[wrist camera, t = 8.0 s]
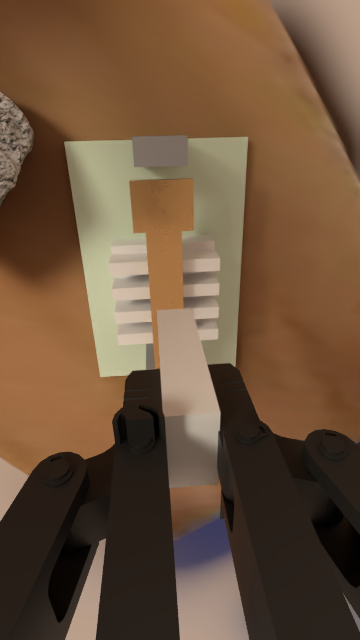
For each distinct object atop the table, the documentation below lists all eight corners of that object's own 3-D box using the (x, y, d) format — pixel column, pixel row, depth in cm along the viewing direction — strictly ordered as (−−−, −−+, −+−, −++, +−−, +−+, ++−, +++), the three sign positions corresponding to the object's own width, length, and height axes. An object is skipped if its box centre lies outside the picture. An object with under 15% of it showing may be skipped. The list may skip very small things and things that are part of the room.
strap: (193, 383, 37) (194, 390, 36) (147, 387, 37) (147, 394, 36) (191, 177, 28) (193, 179, 27) (129, 179, 28) (129, 181, 27)
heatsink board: (101, 372, 44) (90, 422, 36) (66, 141, 32) (38, 138, 24) (233, 363, 45) (252, 410, 37) (245, 137, 33) (275, 132, 25)
